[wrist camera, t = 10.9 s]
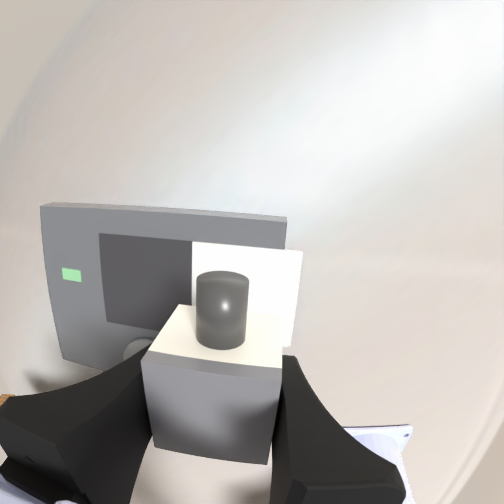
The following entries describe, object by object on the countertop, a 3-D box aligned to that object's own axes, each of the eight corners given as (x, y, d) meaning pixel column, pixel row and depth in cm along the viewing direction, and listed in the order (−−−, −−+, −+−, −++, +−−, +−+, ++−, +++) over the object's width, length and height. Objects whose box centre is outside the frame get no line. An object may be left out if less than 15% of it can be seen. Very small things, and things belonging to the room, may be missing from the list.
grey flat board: (281, 386, 22) (280, 405, 20) (72, 349, 23) (59, 362, 21) (303, 218, 18) (306, 226, 16) (53, 202, 19) (34, 207, 17)
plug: (271, 395, 13) (267, 464, 9) (181, 383, 13) (154, 446, 10) (288, 265, 12) (291, 316, 8) (178, 254, 12) (134, 297, 8)
